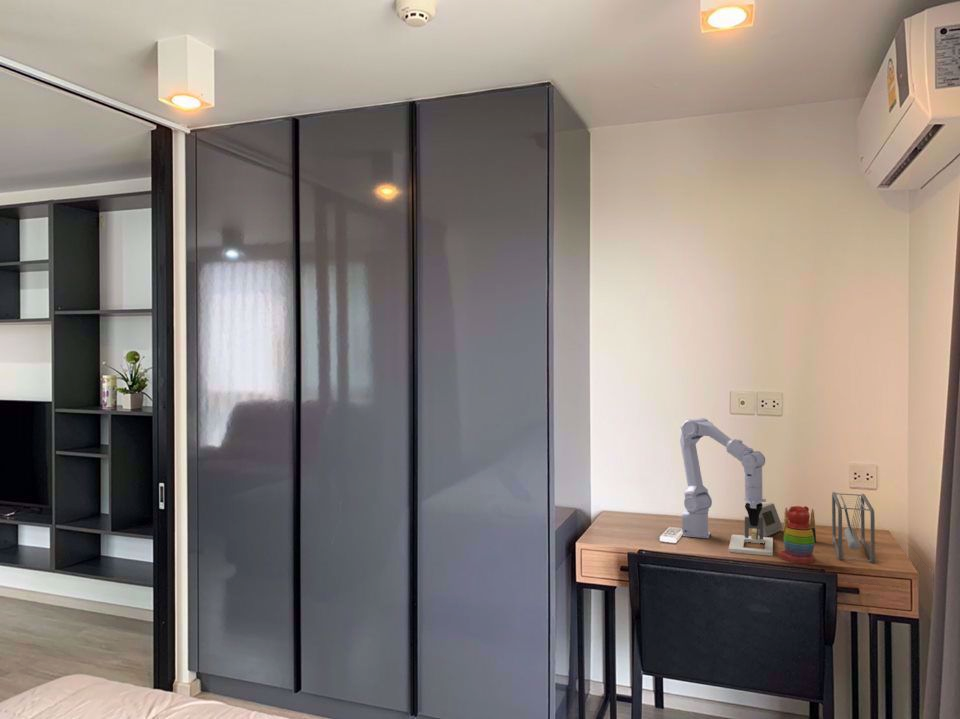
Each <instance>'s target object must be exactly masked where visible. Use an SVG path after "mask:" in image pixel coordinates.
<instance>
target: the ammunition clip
mask: <svg viewBox="0 0 960 719" xmlns="http://www.w3.org/2000/svg"><path fill="white" fill-rule="evenodd" d="M788 510H789V509H788V507H785V509H784V517H783V534H784V533H785V529H786V526H787V524H788V523H789V522H790V521H789V519H788V517H787V512H788ZM809 511H810V512H809ZM809 511H808V512H809V513H810V519H809V521H808V523H807V524H809V525H810V527H811V529H812V531H813V536H814V541H815V542H814V543H817V537H816V535H817V534H816V519H815V511H814V509H813V508H811V510H809ZM782 539H783V540H784V537H783V538H782Z"/></svg>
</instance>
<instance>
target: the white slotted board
mask: <svg viewBox="0 0 960 719" xmlns="http://www.w3.org/2000/svg"><path fill="white" fill-rule="evenodd" d="M730 537H731V538H730V542H729V545H728V552H729V553H737V554H747V555H756V556H757V555H758V556H770V557H773V556H774V555H773V554H774V551H773V550H774V549H773V548H774V547H773V546H774V538H773V537H763V539H759V535H758V529H753V528H751V535H749V538H745V534H744V535H743V534H733V533H732V534H731V536H730ZM748 542H751V544H760V543H763V544H762V545H764V549H763V548H752V547H745V543H748ZM764 543H765V544H764Z"/></svg>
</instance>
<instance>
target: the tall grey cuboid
mask: <svg viewBox="0 0 960 719" xmlns="http://www.w3.org/2000/svg"><path fill="white" fill-rule="evenodd" d="M752 528H753V529H759V535H758V537H759V539H763V518H759V519H758V525H757V526H751V525H750V520H749V516H744V535H745V538H749V536H750V535H749V534H750V530H749V529H752Z"/></svg>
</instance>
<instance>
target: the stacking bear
mask: <svg viewBox="0 0 960 719" xmlns="http://www.w3.org/2000/svg"><path fill="white" fill-rule="evenodd" d="M787 510H788V512H787V517H788V519H789V521H790V522H789V523H788V524H787V526H786V529H785V533H784V532H783V538H784V539H783V546H784V549H785V550H780V551H779V552H778V555H777V556H778V557H779V558H781V560H785V561H786V562H787V561H788V562H790V563H795V564H796V563H797V564H812V563H813V562H815V555H814V554H813V552H814V548H815V545H816V544H815V543H816V542H815V541H814V536H813V531H812V529H811V527H810V525H809V524H807V523H808V521H809V520H810V519H811V513H810V512H808V511H810V508H809V507H808V506H800V505H795V506H790V507H789V509H787Z"/></svg>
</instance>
